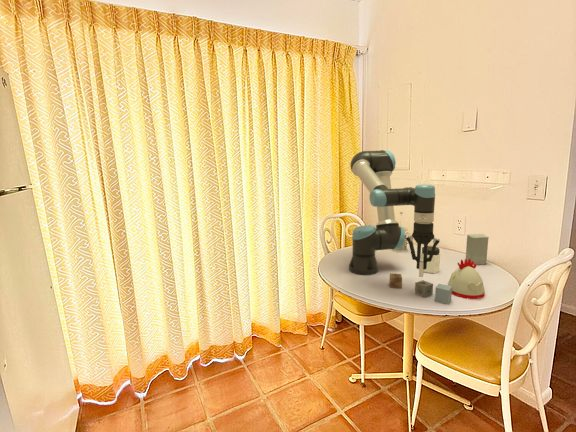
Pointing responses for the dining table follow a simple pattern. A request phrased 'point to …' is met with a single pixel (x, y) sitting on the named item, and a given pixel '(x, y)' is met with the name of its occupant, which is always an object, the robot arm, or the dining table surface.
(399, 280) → the walnut block
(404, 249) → the french press
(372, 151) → the robot arm
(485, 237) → the skincare box
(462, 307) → the dining table surface
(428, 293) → the dice cube
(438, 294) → the slate block
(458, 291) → the kitchen timer
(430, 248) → the jar
